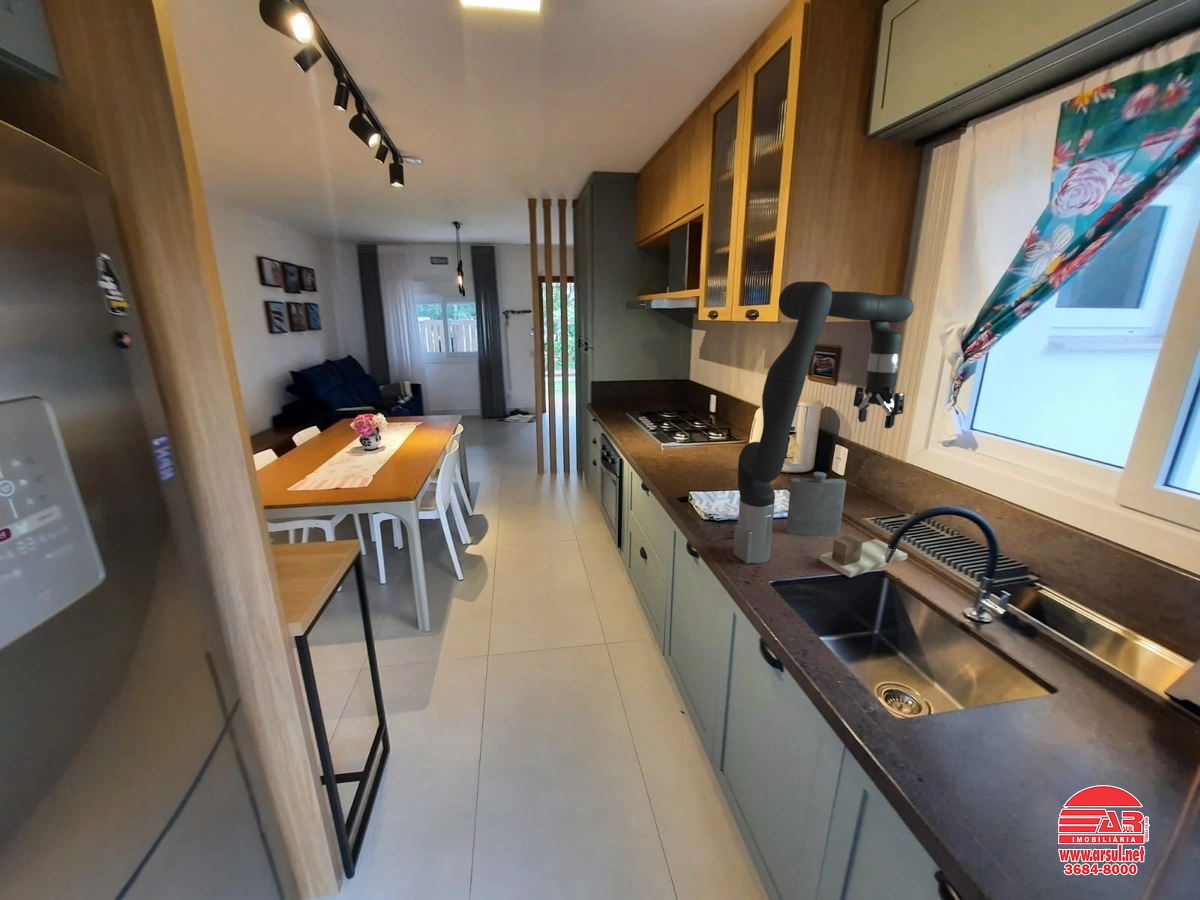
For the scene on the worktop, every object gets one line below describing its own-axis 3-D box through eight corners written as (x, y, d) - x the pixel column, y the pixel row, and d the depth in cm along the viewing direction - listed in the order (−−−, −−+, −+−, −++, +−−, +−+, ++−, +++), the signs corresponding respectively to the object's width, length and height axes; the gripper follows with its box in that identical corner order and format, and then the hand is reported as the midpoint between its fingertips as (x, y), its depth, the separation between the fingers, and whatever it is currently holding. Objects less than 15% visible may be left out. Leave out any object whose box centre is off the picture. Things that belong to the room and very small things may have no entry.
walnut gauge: (843, 565, 130) (846, 545, 128) (831, 558, 134) (834, 539, 132) (860, 560, 132) (862, 540, 131) (847, 553, 136) (850, 534, 134)
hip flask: (837, 530, 153) (845, 471, 147) (841, 536, 149) (850, 475, 143) (784, 529, 155) (790, 470, 149) (788, 535, 151) (794, 475, 145)
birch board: (849, 577, 128) (850, 572, 127) (819, 560, 136) (820, 554, 136) (906, 558, 136) (907, 553, 135) (874, 543, 145) (875, 538, 144)
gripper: (851, 367, 142) (845, 421, 147) (896, 373, 130) (888, 432, 135) (869, 365, 145) (863, 418, 150) (915, 371, 133) (906, 428, 137)
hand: (874, 424), depth 142 cm, fingers open, 8 cm apart
